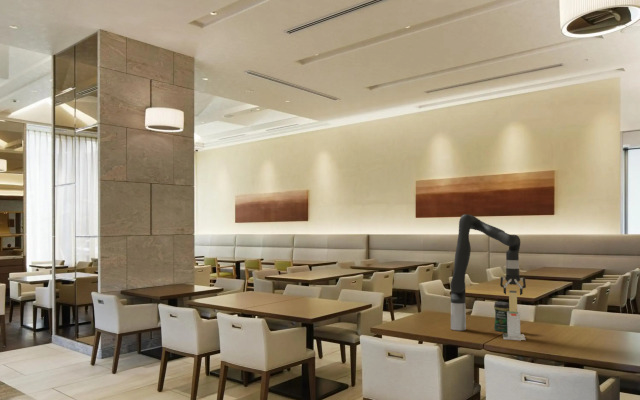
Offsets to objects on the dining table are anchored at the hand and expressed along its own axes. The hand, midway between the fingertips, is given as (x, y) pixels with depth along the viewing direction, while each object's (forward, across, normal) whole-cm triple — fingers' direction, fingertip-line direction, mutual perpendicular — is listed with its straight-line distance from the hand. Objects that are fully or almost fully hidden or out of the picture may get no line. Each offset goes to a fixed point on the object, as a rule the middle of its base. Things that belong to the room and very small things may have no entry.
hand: (513, 294), depth 289 cm
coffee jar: (+26, -6, +19) cm, 33 cm away
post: (+19, 0, 0) cm, 19 cm away
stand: (+26, 0, 0) cm, 26 cm away
